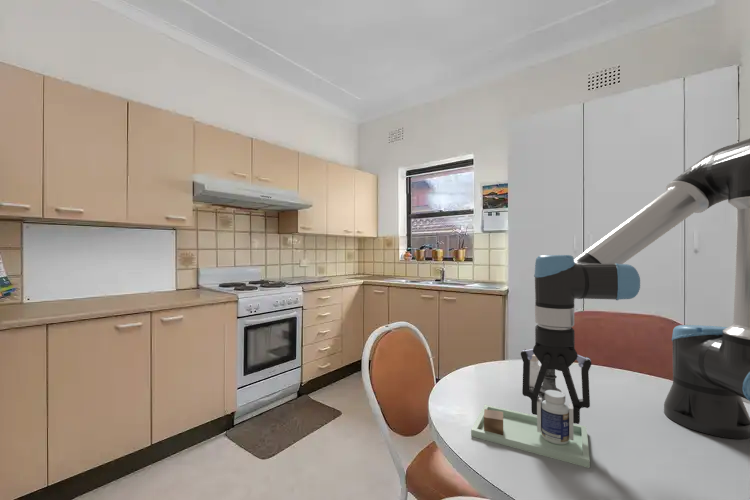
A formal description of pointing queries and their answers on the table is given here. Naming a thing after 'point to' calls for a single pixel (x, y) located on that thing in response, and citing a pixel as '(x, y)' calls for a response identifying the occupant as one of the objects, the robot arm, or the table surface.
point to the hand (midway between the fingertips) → (555, 432)
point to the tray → (534, 437)
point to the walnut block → (493, 421)
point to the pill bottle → (555, 418)
